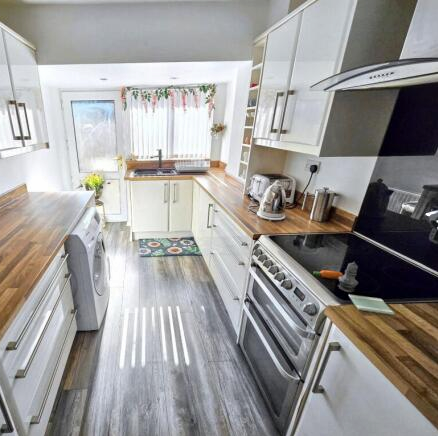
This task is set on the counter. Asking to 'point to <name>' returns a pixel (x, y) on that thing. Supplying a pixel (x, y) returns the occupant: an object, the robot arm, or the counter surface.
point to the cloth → (371, 304)
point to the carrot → (329, 274)
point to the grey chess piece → (348, 278)
